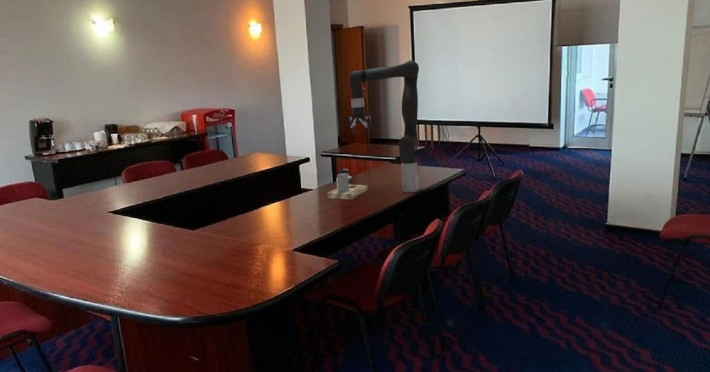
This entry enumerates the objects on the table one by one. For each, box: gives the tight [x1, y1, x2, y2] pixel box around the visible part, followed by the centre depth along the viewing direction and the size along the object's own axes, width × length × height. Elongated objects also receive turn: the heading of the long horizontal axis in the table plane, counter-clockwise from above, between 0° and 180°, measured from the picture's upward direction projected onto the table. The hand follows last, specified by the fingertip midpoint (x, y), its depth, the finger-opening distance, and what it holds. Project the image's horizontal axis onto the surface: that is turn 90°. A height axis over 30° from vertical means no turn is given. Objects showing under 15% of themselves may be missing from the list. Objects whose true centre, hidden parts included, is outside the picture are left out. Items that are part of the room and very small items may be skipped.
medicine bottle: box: [336, 168, 354, 188], centre depth 350 cm, size 7×7×12 cm
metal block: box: [336, 173, 349, 192], centre depth 326 cm, size 5×5×10 cm
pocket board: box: [326, 184, 369, 200], centre depth 332 cm, size 16×22×4 cm
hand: (360, 134), depth 329 cm, fingers open, 8 cm apart
